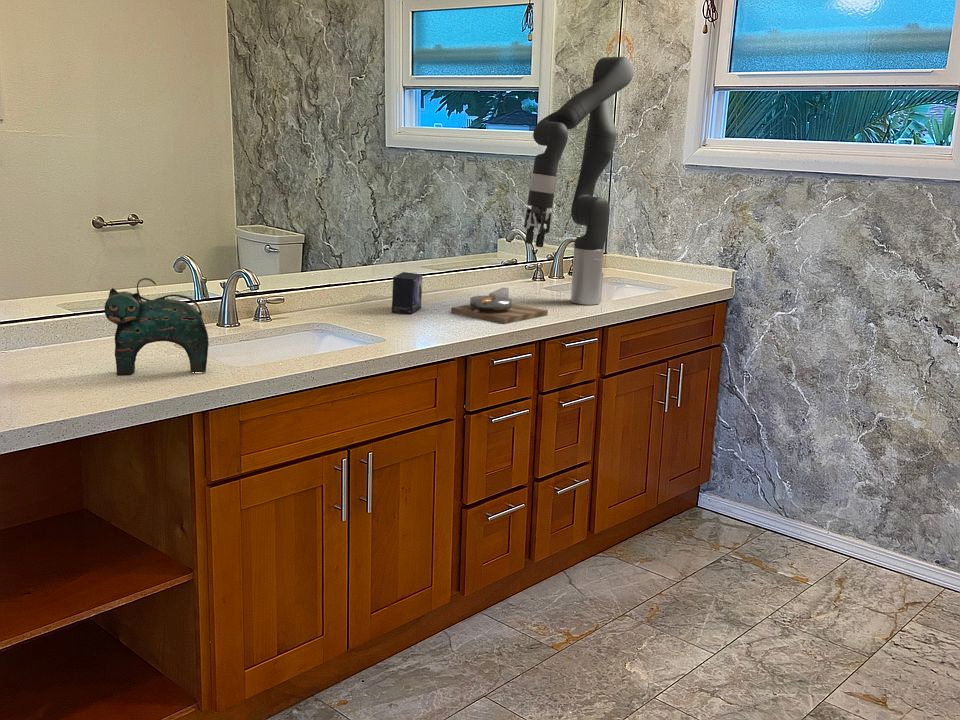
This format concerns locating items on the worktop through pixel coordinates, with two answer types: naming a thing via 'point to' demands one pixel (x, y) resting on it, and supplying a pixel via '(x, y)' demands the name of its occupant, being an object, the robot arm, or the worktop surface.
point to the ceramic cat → (155, 327)
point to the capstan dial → (492, 300)
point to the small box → (407, 293)
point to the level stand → (501, 313)
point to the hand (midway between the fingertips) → (533, 245)
